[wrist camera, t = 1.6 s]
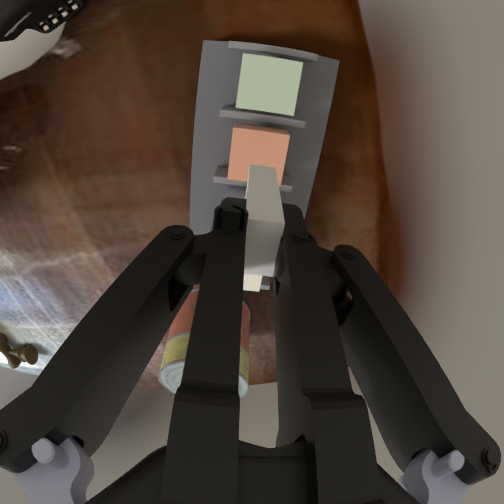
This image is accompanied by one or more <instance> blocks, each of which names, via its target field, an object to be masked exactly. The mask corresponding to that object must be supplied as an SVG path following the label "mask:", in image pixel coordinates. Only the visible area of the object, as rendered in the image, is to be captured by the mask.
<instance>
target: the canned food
mask: <svg viewBox="0 0 504 504" xmlns="http://www.w3.org/2000/svg"><path fill="white" fill-rule="evenodd" d="M198 292H199V288H198V289H194V290H192V291H191V292H190V294H189V296H188V297H187V299H186V300H185V302H184V304H183V305H182V307H181V309H180V310H179V312H178V314H177V315H176V317H175V319H174V320H173V322H172V324H171V328H170V332H169V336H168V340H167V344H166V348H165V352H164V356H163V360H162V364H161V369H160V371H159V374H158V378H159V381H160V382H161V384H162V385H163V386H164V387H165V388H166V389H167V390H169V391H170V392H172V393H174V394H176V390H177V388H178V387H179V386H180V384H181V380H182V374H183V368H184V363H185V358H186V352H187V347H188V342H189V336H190V331H191V326H192V321H193V316H194V311H195V307H196V302H197V297H198ZM249 325H250V311H249V308H248V306H247V305H246V304H245V302H244V301H243V302H242V323H241V343H240V365H239V389H238V390H239V395H240V398H241V397H243V396H244V395H245V394H246V393H247V392H248V389H249V384H248V366H249Z"/></svg>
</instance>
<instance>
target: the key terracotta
mask: <svg viewBox="0 0 504 504" xmlns="http://www.w3.org/2000/svg"><path fill="white" fill-rule="evenodd" d="M289 139H290V134H289V132H288V130H287V129H283V128H276V127H270V126H263V125H255V124H247V123H239V122H235V124H234V127H233V133H232V141H231V150H230V159H229V168H228V177H227V179H230V180H238V181H248V174H249V167H250V164H253V165H260V166H268V167H275V168H276V174H277V179H278V185H279V186H281V181H282V176H283V170H284V165H285V160H286V155H287V149H288V144H289Z"/></svg>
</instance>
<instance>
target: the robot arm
mask: <svg viewBox="0 0 504 504" xmlns="http://www.w3.org/2000/svg"><path fill="white" fill-rule="evenodd" d="M274 269H275V278H274V283H273V287H272V291H271V295H270V297H273V294H274V313H275V334H276V357H277V383H278V413H279V430H278V435H277V440H276V447H275V448H265V447H261V446H257V445H254V444H250V443H247V442H243V441H240V440H238V439H239V412H240V410H239V409H240V395H239V390H238V389H239V365H240V343H241V323H242V302H243V283H244V274H251V275H260V276H270V277H273V274H274ZM195 284H200V288H199V292H198V297H197V302H196V307H195V311H194V316H193V321H192V326H191V331H190V336H189V342H188V347H187V352H186V358H185V363H184V368H183V374H182V380H181V384H180V386H179V387H178V388H177V390H176V394H175V398H174V404H173V410H172V416H171V422H170V429H169V435H168V441H167V445H166V446H163V447H161V448H159V449H157V450H155V451H154V452H152V453H150V454H149V455H148V456H146V457H145V458H144V459H143V460H141V461H140V462H139V463H138V464H136V465H135V466H134V467H133V468H131V469H130V470H129V471H128V472H126V473H125V474H124V475H123V476H121V477H120V478H119V479H117V480H116V481H115V482H113V483H112V484H111V485H109V486H108V487H107V488H105V489H104V490H102V491H101V492H100V493H99V494H97V495H96V496H94V497H93V498H91V499H90V500H89V501H86V489H87V486H88V485H89V483H90V482H91V480H92V479H93V475H94V465H93V463H92V460H91V459H90V457H91V456H92V455H93V454H94V453H95V451H96V450H97V449H98V448H99V447H100V445H101V444H102V443H103V441H104V440H105V438H106V436H107V435H108V433H109V432H110V430H111V428H112V426H113V424H114V423H115V421H116V419H117V417H118V415H119V413H120V412H121V410H122V408H123V406H124V405H125V403H126V401H127V399H128V397H129V396H130V394H131V392H132V390H133V389H134V387H135V385H136V383H137V382H138V380H139V378H140V376H141V375H142V373H143V371H144V369H145V368H146V366H147V364H148V363H149V361H150V359H151V357H152V356H153V354H154V352H155V351H156V349H157V347H158V345H159V344H160V342H161V340H162V339H163V337H164V335H165V334H166V332H167V330H168V329H169V327H170V325H171V324H172V322H173V320H174V319H175V317H176V315H177V314H178V312H179V310H180V309H181V307H182V305H183V304H184V302H185V300H186V299H187V297H188V296H189V294H190V292H191V291H192V289H193V285H195ZM349 292H350V293H351V295H352V300H351V299H350V297H349V296H348V295H349ZM346 360H347V362H348V364H349V366H350V368H351V370H352V372H353V375H354V377H355V379H356V381H357V383H358V385H359V387H360V389H361V391H362V393H363V396H364V398H365V400H366V402H367V404H368V407H369V409H370V411H371V413H372V415H373V418H374V419H375V422H376V424H377V426H378V429H379V431H380V433H381V435H382V438H383V440H384V442H385V444H386V447H387V448H388V450H389V452H390V454H391V456H392V457H393V459H394V461H395V462H396V464H397V465H398V467H399V468H400V469H401V470H402V471H403V472H404V475H403V476H401V477H400V479H399V481H398V483H397V482H396V481H395V480H394V479H393V478H392V477H391V476H390V475H389V474H388V473H387V472H386V471H385V470H384V469H383V468H382V467H381V466H380V465H379V464H377V461H376V454H375V448H374V442H373V436H372V430H371V425H370V420H369V414H368V409H367V405H366V402H365V400H364V398H363V397H362V396H361V395H357V394H355V393H354V392H353V390H352V386H351V381H350V376H349V371H348V366H347V362H346ZM500 462H501V452H500V448H499V446H498V445H497V443H496V442H495V441H494V440H493V439H492V438H491V436H490V435H489V434H488V433H487V432H486V431H485V430H484V429H483V428H482V427H481V426H480V425H479V424H478V423H477V422H476V420H475V419H474V418H473V417H472V416H471V415H470V414H469V413H468V412H467V411H466V410H465V408H464V406H463V405H462V403H461V401H460V399H459V397H458V395H457V394H456V392H455V390H454V388H453V387H452V385H451V383H450V381H449V380H448V378H447V376H446V375H445V373H444V371H443V370H442V368H441V366H440V365H439V363H438V361H437V360H436V358H435V356H434V355H433V353H432V352H431V350H430V349H429V347H428V345H427V344H426V342H425V341H424V339H423V338H422V336H421V335H420V333H419V332H418V330H417V329H416V327H415V326H414V324H413V323H412V321H411V320H410V318H409V317H408V315H407V314H406V312H405V311H404V310H403V308H402V307H401V305H400V304H399V302H398V301H397V300H396V298H395V297H394V295H393V294H392V293H391V291H390V290H389V288H388V287H387V286H386V284H385V283H384V282H383V280H382V279H381V278H380V276H379V275H378V274H377V272H376V271H375V270H374V268H373V267H372V266H371V264H370V263H369V262H368V261H367V259H366V258H365V257H364V255H363V254H362V253H361V252H360V251H359V250H358V249H356V248H354V247H353V246H350V245H343V244H342V245H337V246H336V247H335V248H334V251H333V252H332V251H329V250H326V249H323V248H321V247H319V246H317V242H316V240H315V238H314V237H313V236H312V235H311V234H310V233H308V231H307V228H306V224H305V221H304V217H303V213H302V210H301V209H300V208H299V207H298V206H297V205H293V204H286V203H281V197H280V191H279V185H278V179H277V174H276V168H275V167H268V166H260V165H253V164H250V167H249V174H248V181H247V188H246V196H245V199H242V198H234V197H226V198H225V199H223V200H222V201H221V205H219V206H217V207H216V208H215V210H214V223H213V230H212V231H211V232H209V233H206V234H201V235H194V233H193V231H192V230H191V229H190V228H188V227H186V226H181V225H173V226H169V227H166V228H165V229H163V230H162V231H161V232H160V233H159V234H158V235H157V236H156V237H155V238H154V239H153V240H152V241H151V242H150V243H149V244H148V245H147V246H146V248H145V249H144V250H143V251H142V252H141V253H140V254H139V255H138V256H137V257H136V258H135V259H134V260H133V261H132V263H131V264H130V265H129V266H128V267H127V268H126V269H125V270H124V271H123V272H122V274H121V275H120V276H119V277H118V278H117V279H116V280H115V281H114V282H113V284H112V285H111V286H110V287H109V288H108V289H107V290H106V292H105V293H104V294H103V295H102V296H101V297H100V299H99V300H98V301H97V302H96V303H95V304H94V306H93V307H92V308H91V309H90V310H89V312H88V313H87V314H86V315H85V316H84V318H83V319H82V320H81V321H80V323H79V324H78V325H77V326H76V328H75V329H74V330H73V331H72V333H71V334H70V335H69V336H68V338H67V339H66V340H65V342H64V343H63V344H62V345H61V347H60V348H59V349H58V351H57V352H56V353H55V355H54V356H53V357H52V359H51V360H50V361H49V363H48V364H47V366H46V367H45V368H44V370H43V371H42V372H41V374H40V375H39V377H38V378H37V380H36V381H35V382H34V384H33V385H32V387H30V388H29V389H28V390H26V391H25V392H24V393H22V394H21V395H20V396H18V397H17V398H16V399H14V400H13V401H12V402H10V403H9V404H8V405H6V406H5V407H4V408H3V409H1V410H0V467H2V468H4V469H6V470H8V471H10V472H11V473H12V474H13V475H14V477H15V478H16V480H17V481H18V483H19V485H20V486H21V488H22V489H23V491H24V492H25V493H26V495H27V496H28V498H29V499H30V500H31V502H32V503H33V504H460V503H461V501H462V500H463V498H464V497H465V495H466V494H467V492H468V491H469V489H470V487H471V486H472V485H473V484H475V483H477V482H479V481H482V480H484V479H486V478H488V477H490V476H492V475H493V474H495V473H496V471H497V470H498V468H499V465H500Z"/></svg>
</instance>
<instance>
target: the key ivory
mask: <svg viewBox="0 0 504 504" xmlns="http://www.w3.org/2000/svg"><path fill="white" fill-rule="evenodd" d="M261 281H262V276H260V275H251V274H244V283H243V290H248V291H258V292H259V290H260V285H261Z"/></svg>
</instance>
